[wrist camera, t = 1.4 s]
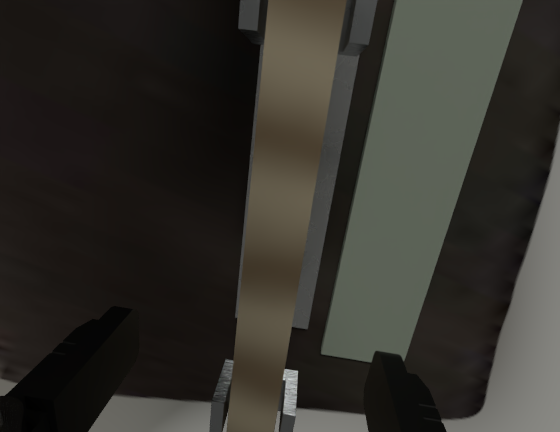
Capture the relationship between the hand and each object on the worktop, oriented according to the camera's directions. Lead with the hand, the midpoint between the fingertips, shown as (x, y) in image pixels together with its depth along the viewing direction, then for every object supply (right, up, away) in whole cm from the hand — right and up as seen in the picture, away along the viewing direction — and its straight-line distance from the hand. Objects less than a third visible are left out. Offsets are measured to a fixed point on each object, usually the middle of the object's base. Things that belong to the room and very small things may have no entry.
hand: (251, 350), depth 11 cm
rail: (+1, +3, +8) cm, 9 cm away
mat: (+12, +5, +20) cm, 24 cm away
